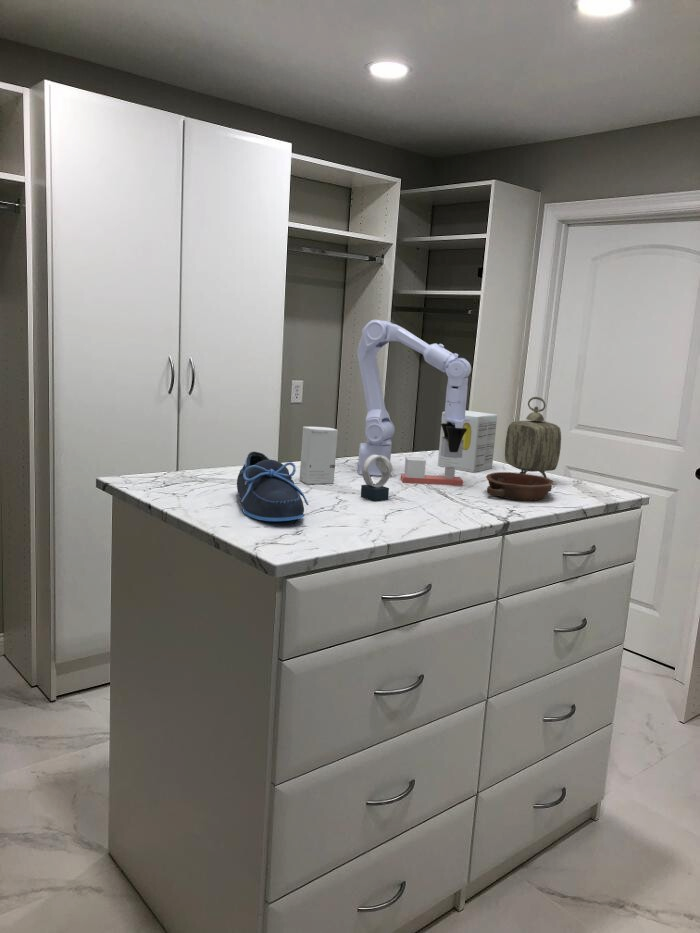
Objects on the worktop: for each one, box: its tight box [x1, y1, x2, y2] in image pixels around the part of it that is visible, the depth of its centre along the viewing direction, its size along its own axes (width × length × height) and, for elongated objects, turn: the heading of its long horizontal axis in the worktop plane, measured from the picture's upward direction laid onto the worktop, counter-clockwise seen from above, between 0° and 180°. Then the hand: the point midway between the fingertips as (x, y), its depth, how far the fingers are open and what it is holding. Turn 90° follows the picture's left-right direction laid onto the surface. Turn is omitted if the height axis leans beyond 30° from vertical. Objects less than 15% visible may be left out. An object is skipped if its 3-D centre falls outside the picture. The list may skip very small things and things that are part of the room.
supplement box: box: [437, 410, 498, 473], centre depth 241 cm, size 13×13×18 cm
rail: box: [400, 456, 464, 487], centre depth 214 cm, size 17×5×6 cm, turn 94°
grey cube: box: [441, 437, 464, 458], centre depth 213 cm, size 5×5×5 cm
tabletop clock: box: [504, 396, 562, 480], centre depth 224 cm, size 14×9×25 cm, turn 31°
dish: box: [486, 471, 554, 502], centre depth 204 cm, size 17×22×5 cm
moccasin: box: [236, 451, 309, 522], centre depth 172 cm, size 14×34×12 cm, turn 25°
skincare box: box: [299, 426, 339, 485], centre depth 204 cm, size 8×6×15 cm
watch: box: [360, 455, 393, 503], centre depth 189 cm, size 6×8×11 cm
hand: (451, 450), depth 214 cm, fingers closed on grey cube, 5 cm apart
